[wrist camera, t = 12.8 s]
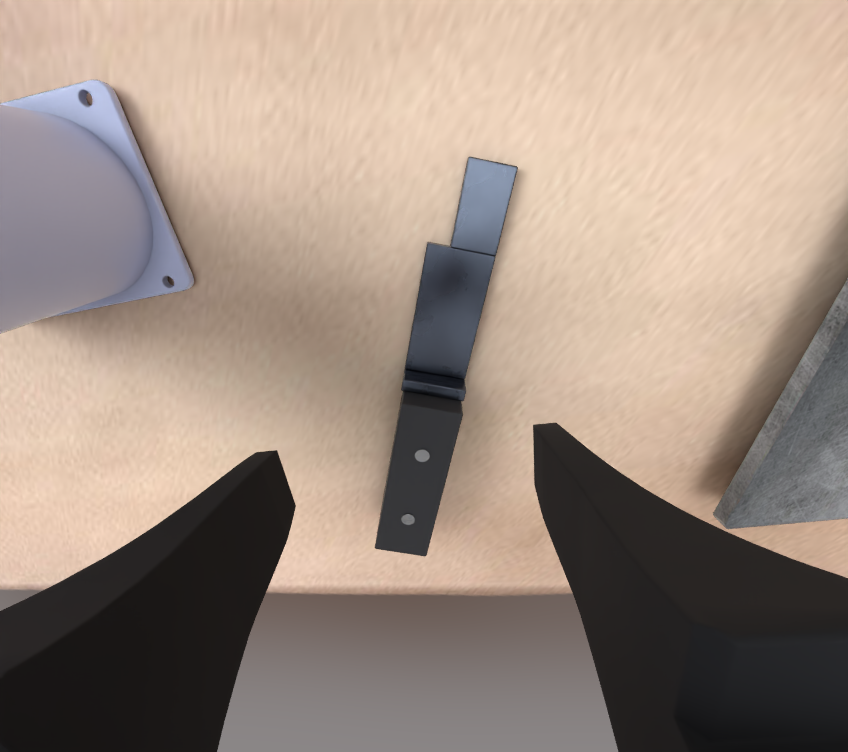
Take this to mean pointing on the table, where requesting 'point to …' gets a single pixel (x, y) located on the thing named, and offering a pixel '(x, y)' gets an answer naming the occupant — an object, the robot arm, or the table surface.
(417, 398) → the knife
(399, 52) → the table surface
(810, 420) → the meat cleaver
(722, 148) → the table surface
